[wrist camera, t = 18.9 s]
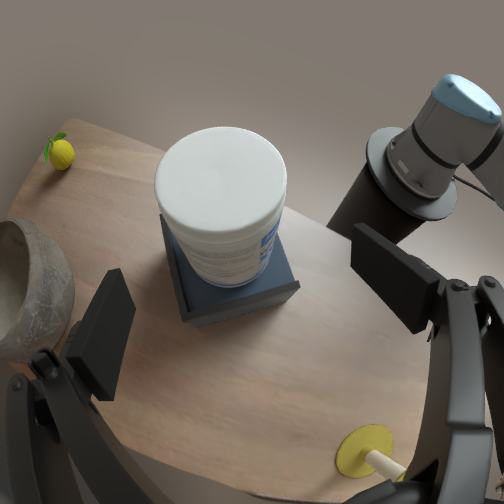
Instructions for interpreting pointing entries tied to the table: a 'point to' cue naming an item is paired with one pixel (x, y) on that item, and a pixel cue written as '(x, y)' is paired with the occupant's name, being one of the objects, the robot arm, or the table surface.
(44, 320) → the bowl
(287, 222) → the table surface
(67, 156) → the lemon
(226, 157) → the supplement tub
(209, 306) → the blue storage bin
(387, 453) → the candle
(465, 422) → the robot arm
